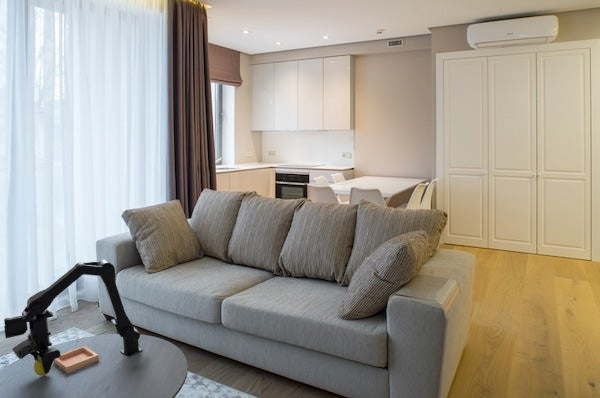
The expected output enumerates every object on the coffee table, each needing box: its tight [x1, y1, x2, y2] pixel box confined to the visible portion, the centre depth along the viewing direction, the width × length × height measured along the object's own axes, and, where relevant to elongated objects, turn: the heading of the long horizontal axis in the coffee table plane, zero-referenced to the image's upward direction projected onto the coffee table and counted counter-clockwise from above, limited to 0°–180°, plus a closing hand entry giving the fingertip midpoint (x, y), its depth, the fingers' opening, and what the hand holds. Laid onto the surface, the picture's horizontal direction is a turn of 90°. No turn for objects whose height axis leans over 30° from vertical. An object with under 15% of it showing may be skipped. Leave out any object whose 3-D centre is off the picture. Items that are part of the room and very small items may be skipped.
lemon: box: [33, 358, 52, 377], centre depth 160 cm, size 6×6×8 cm
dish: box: [52, 345, 100, 374], centre depth 170 cm, size 12×12×2 cm
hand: (43, 370), depth 160 cm, fingers closed on lemon, 5 cm apart
